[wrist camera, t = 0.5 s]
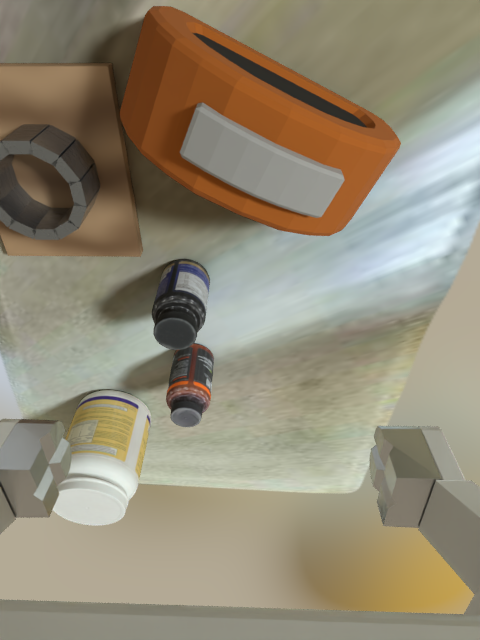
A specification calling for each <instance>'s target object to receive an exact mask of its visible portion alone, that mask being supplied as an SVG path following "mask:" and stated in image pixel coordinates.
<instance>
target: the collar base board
mask: <svg viewBox="0 0 480 640" xmlns="http://www.w3.org/2000/svg"><path fill="white" fill-rule="evenodd" d="M24 124H49V125H53V126H54V127H56V128H58V129H60V130H62V131H64V132H66V133H68V134H70V135H71V136H73V137H75V138H76V140H77V139H78V140H79V142H80V143H81V144H82V145H83V147H84V148H85V149H86V150H87V152H88V153H89V154H90V156H91V157H92V158H93V159H94V162H93V163H96V167H97V172H98V177H99V181H100V190H99V192H98V195H97V198H96V200H95V203H94V205H93V207H92V209H91V210H90V212H89V213H88V215H87V217H86V218H85V220H84V221H83V223H82V224H81V226H80V228H79V229H77V230H76V231H74V232H72V233H71V234H69V235H67V236H66V237H64V238H62V239H59V240H35V238H34V239H32V238H30V237H27V236H25V235H23V234H21V233H18V232H16V231H14V230H12V229H9V227H10V226H9V227H7V226H6V225H5V224H4V223H3V222H2V221H1V220H0V236H1V238H2V241H3V243H4V246H5V248H6V251H7V254H8V255H11V256H133V257H141V254H142V251H143V247H142V241H141V235H140V229H139V223H138V217H137V211H136V205H135V199H134V193H133V187H132V181H131V175H130V169H129V163H128V158H127V152H126V146H125V140H124V134H123V128H122V122H121V119H120V110H119V104H118V98H117V92H116V86H115V80H114V74H113V68H112V63H0V141H1V140H3V139H4V138H5V137H7V136H8V135H9V134H11V133H12V132H13V131H15V130H16V129H18V128H19V127H20V126H22V125H24ZM76 140H75V141H76ZM12 166H13V169H14V172H15V174H16V177H17V180H18V183H19V184H20V186H21V187H22V188H23V189H24V190H25V191H26V192H27V193H28V194H29V195H30V196H31V197H32V199H34V200H36V201H38V202H40V203H42V204H45V205H47V206H49V207H51V208H70V207H72V206H73V205H74V202H73V198H72V194H71V190H70V186H69V183H68V182H67V181H66V180H65V179H64V178H63V176H62V175H61V174H60V173H59V172H58V171H57V169H56V168H55V167H54V166H53V165H51V164H49V163H47V162H45V161H43V160H41V159H39V158H37V157H35V156H33V155H31V154H14V159H13V163H12Z"/></svg>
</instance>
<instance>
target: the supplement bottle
mask: <svg viewBox="0 0 480 640" xmlns="http://www.w3.org/2000/svg"><path fill="white" fill-rule="evenodd" d="M213 365H214V357H213V354H212V353H211V351H210V350H209V349H208V348H206V347H205V346H202V345H199V344H192V345H191V346H190V347H188V348H185V349H181V350H176V352H175V354H174V358H173V363H172V368H171V374H170V379H169V385H168V390H167V396H166V402H167V404H168V406H169V408H170V409H171V420H172V421H173V422H174V423H175V424H176V425H179V426H182V427H193V426H195V425H197V424H199V422H200V421H201V417H202V413H203V412H205V411H206V410H207V409H208V407H209V404H210V399H211V388H212V376H213Z"/></svg>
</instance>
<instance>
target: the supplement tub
mask: <svg viewBox="0 0 480 640" xmlns="http://www.w3.org/2000/svg"><path fill="white" fill-rule="evenodd" d="M150 426H151V414H150V411H149V409H148V408H147V406H146V405H145V404H144V403H143V402H142V401H141V400H139V399H138V398H136V397H134V396H132V395H130V394H128V393H125V392H121V391H114V390H102V391H97V392H94V393H91V394H89V395H87V396H86V397H85V398H83V399H82V401H81V402H80V403H79V405H78V407H77V409H76V412H75V415H74V418H73V420H72V423H71V425H70V428H69V431H68V433H67V436H66V438H65V440H66V441H68V442H69V443H70V447H71V452H72V460H71V466H70V470H69V473H68V475H67V478H66V479H65V480H64V481H63V482H61V483H60V484H59V485H58V486H57V489H58V492H59V496H58V498H57V501H56V503H55V505H54V507H53V511H55V512H56V513H57V514H58V515H59V516H61V517H63V518H65V519H67V520H69V521H72V522H76V523H80V524H86V525H107V524H111V523H114V522H116V521H119V520H120V519H122V517H123V516H124V514H125V511H126V508H127V506H128V502H129V500H130V499H131V497H132V496H133V495H134V494H135V492H136V490H137V487H138V483H139V477H140V473H141V468H142V463H143V458H144V454H145V449H146V444H147V439H148V435H149V430H150Z"/></svg>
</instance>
